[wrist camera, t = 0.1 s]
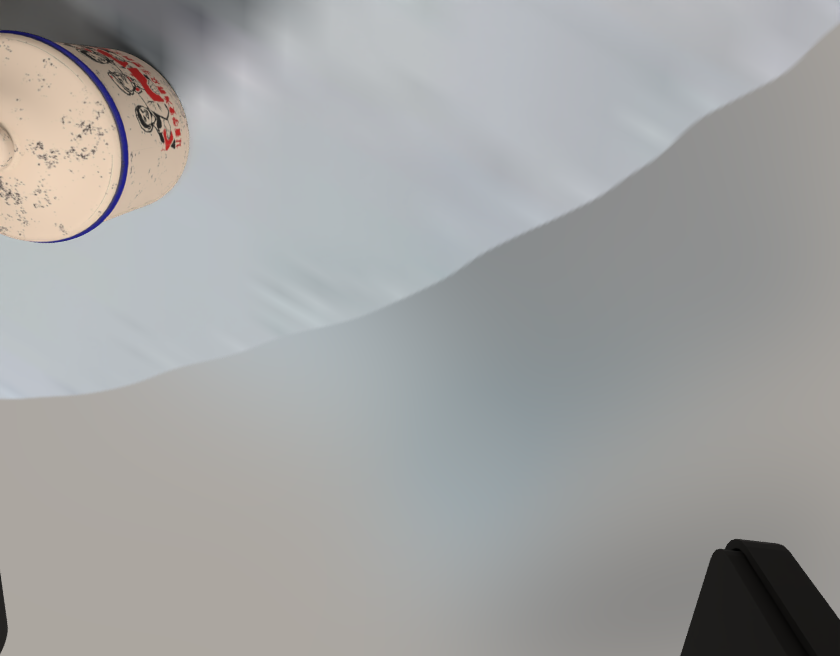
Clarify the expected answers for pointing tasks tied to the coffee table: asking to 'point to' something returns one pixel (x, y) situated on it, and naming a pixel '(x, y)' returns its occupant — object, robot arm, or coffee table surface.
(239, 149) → the coffee table surface
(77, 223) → the teacup with lid
